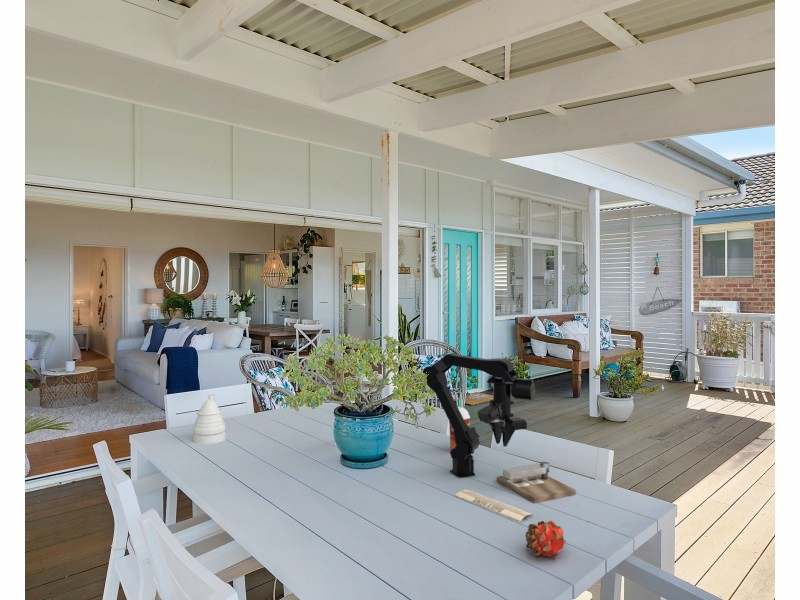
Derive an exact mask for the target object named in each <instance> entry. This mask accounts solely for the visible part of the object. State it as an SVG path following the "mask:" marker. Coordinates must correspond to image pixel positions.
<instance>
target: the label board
mask: <svg viewBox="0 0 800 600" xmlns="http://www.w3.org/2000/svg"><path fill="white" fill-rule="evenodd" d="M548 473H549V472H546V473H545V474H539V475H534V476H528V477H523V478H517V479H512V480H510V479H508V478H507V477H505V476H503V475H500V476H496V482H497V483H498V484H500V485H502V486H504V487H505V488H507V489H509V490H511V491H512V492H514V493H515V494H518V495H519V496H522V497H523V498H525V499H526V500H528V501H529V502H531V503H533V504H537V503H543V502H547V501H552V500H556V499H561V498H566V497H571V496H575V495H576V494H577V489H576V488H573V487H571V486H569V485H567V484H565V483H563V482H561V481H558V480H557V479H555V478H552V477H551V476H549V474H548Z"/></svg>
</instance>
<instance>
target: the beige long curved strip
mask: <svg viewBox="0 0 800 600" xmlns="http://www.w3.org/2000/svg"><path fill="white" fill-rule="evenodd" d="M455 497H456V498H459V499H461V500H463V501H466V502H469V503H472V504H474V505H476V506H479V507H482V508H483V509H486V510H489V511H491V512H494V513H496V514H499V515H500V516H501V515H502V516H504V517H507V518H509V519H512V520H515V521H516V522H519V523H522V520H523V519H524V518H526V517H527V516H529V517H534V514H533V513H530V512H528V511H525V510H524V509H523V510H522V509H520V508H518V507H514V506H512V505H510V504H507V503H504V502H501V501H499V500H496V499H493V498H492V497H489V496H486V495H483V494H481V493H477V492H475V491H473V490H471V489H470V490H469V489H462V490H460V491H458V492H457V493H456V494H455Z"/></svg>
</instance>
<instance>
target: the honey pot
mask: <svg viewBox="0 0 800 600" xmlns="http://www.w3.org/2000/svg"><path fill="white" fill-rule="evenodd" d="M215 395H216V394H208V395H207V397H208V399H206V400H205V401H204V402H203V404H202V406H201V407H200V409H199V410H197V411H196V412H195V414H196V415H197V417H196V419H195V421H194V426H193V427H192V442H193V443H195V444H197V445H198V444H199V445H210V444H211V445H212V444H217V443H221V442H224V441H225V440H226V439H227V435H226V434H227V432H226V427H227V426H226V424H225V420H224V417H223V416H222V412H223V410H222V409H221V408H219V406H218V405H217V403H216V401H214V398H215Z"/></svg>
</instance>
